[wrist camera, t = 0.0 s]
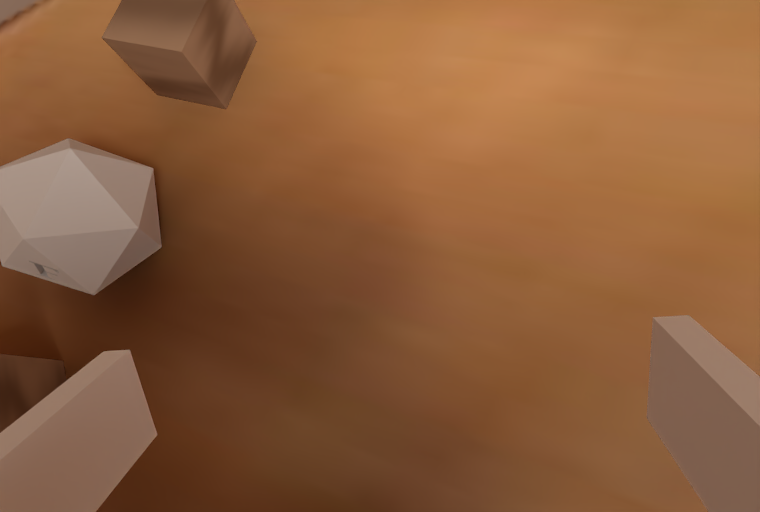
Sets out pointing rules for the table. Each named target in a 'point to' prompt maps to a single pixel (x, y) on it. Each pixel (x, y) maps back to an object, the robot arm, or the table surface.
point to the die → (77, 215)
